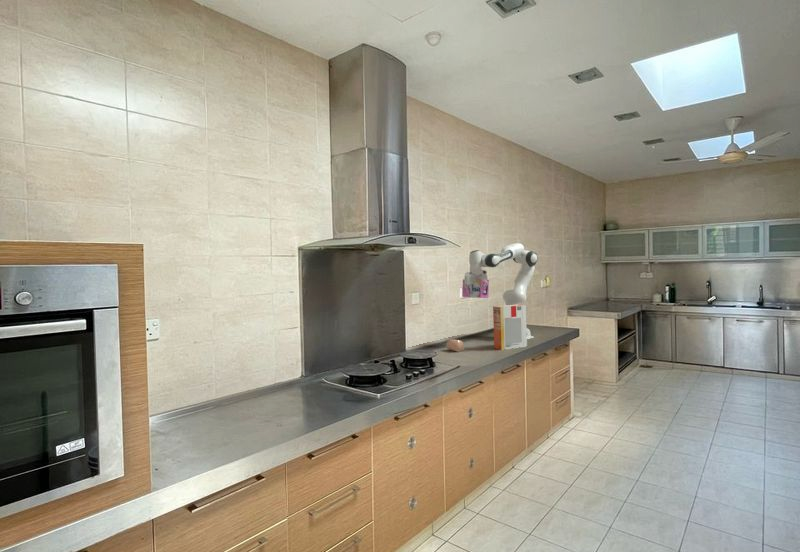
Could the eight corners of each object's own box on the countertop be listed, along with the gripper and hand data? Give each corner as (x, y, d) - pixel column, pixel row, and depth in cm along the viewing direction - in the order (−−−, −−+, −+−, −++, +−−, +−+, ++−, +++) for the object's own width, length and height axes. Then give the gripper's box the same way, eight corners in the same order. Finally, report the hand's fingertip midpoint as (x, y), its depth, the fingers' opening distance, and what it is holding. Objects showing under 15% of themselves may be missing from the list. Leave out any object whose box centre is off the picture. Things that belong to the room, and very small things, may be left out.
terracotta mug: (444, 347, 302) (453, 348, 294) (448, 337, 304) (458, 338, 297) (453, 353, 307) (462, 355, 300) (457, 343, 309) (466, 344, 302)
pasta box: (519, 344, 316) (518, 304, 316) (527, 346, 309) (525, 305, 308) (494, 348, 306) (493, 306, 306) (501, 350, 299) (500, 307, 298)
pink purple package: (490, 298, 312) (490, 279, 313) (481, 297, 309) (482, 279, 309) (470, 297, 334) (470, 279, 334) (461, 296, 330) (462, 279, 330)
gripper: (467, 272, 313) (468, 291, 313) (488, 271, 324) (489, 289, 324) (462, 272, 318) (462, 291, 319) (482, 271, 329) (483, 289, 329)
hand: (476, 290), depth 321 cm, fingers closed on pink purple package, 7 cm apart
